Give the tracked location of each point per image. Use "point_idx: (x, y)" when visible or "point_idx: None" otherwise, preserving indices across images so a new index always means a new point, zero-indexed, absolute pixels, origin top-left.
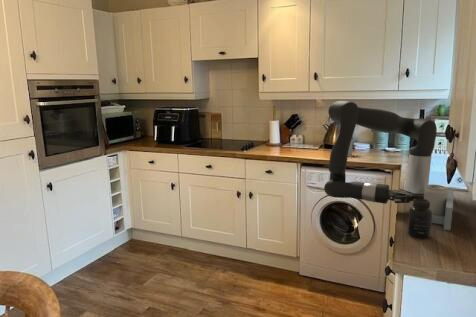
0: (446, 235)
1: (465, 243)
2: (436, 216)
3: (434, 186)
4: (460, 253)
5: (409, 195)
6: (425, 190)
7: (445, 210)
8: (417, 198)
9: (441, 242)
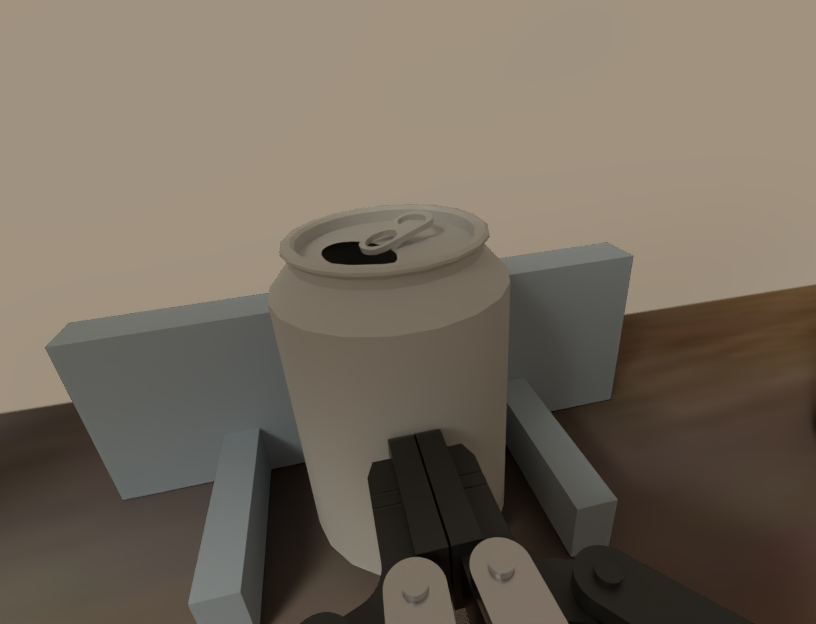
0: (683, 371)
1: (680, 318)
2: (544, 410)
3: (287, 276)
4: (809, 307)
5: (543, 582)
6: (475, 314)
7: (510, 334)
8: (487, 492)
9: (809, 362)
